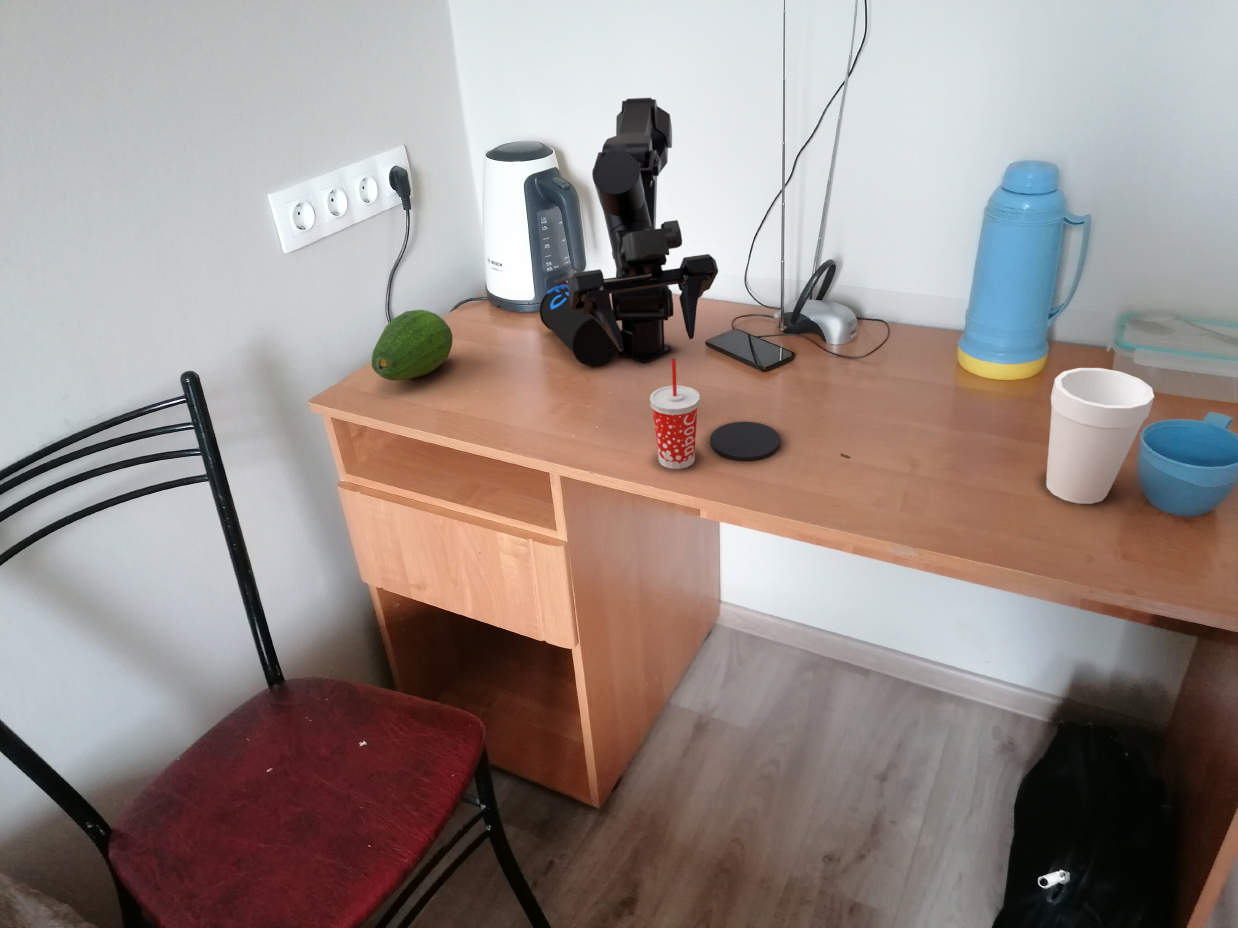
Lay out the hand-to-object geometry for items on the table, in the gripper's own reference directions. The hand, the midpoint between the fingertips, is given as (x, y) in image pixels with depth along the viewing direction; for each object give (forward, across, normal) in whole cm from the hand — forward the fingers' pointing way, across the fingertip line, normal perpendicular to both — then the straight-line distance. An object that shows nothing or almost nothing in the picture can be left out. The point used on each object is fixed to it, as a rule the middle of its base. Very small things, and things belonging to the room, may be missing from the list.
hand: (656, 343), depth 107 cm
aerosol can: (-10, -3, +22) cm, 25 cm away
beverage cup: (+14, 0, +4) cm, 15 cm away
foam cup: (+29, +42, -10) cm, 52 cm away
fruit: (-12, -31, +31) cm, 45 cm away
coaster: (+14, +10, +5) cm, 17 cm away
